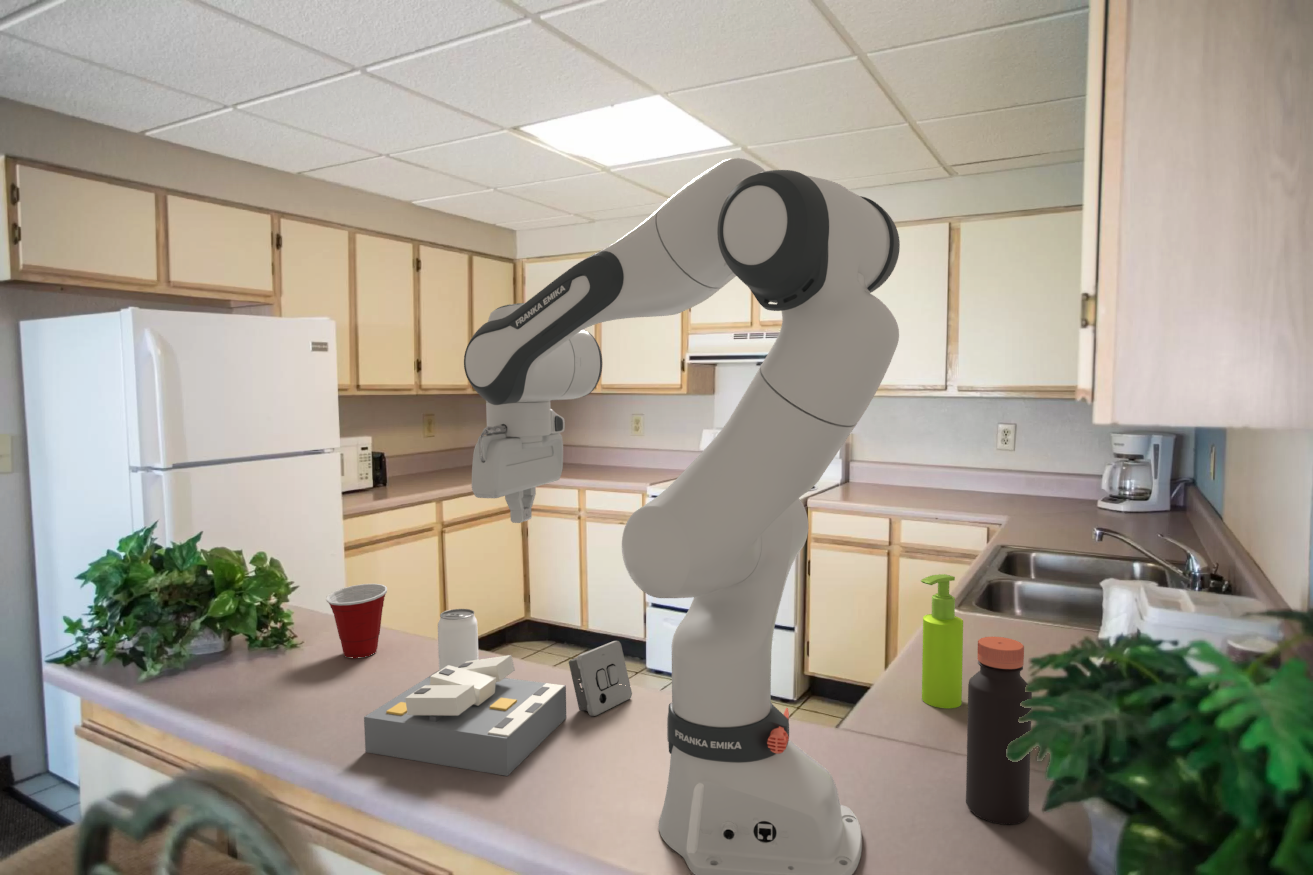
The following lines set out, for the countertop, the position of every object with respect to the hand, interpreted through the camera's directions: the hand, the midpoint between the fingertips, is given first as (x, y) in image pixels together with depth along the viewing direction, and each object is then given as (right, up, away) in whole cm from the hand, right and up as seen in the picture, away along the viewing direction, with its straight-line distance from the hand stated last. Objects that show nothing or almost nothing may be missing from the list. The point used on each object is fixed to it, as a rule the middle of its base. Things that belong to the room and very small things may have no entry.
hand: (521, 521), depth 109 cm
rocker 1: (-10, -25, -2) cm, 28 cm away
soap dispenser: (+63, -30, +12) cm, 71 cm away
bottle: (+59, -32, -18) cm, 70 cm away
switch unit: (-8, -31, +3) cm, 32 cm away
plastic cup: (-37, -29, +37) cm, 60 cm away
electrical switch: (+10, -30, +13) cm, 35 cm away
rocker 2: (-9, -25, +3) cm, 27 cm away
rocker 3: (-7, -25, +8) cm, 27 cm away
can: (-14, -30, +22) cm, 40 cm away
